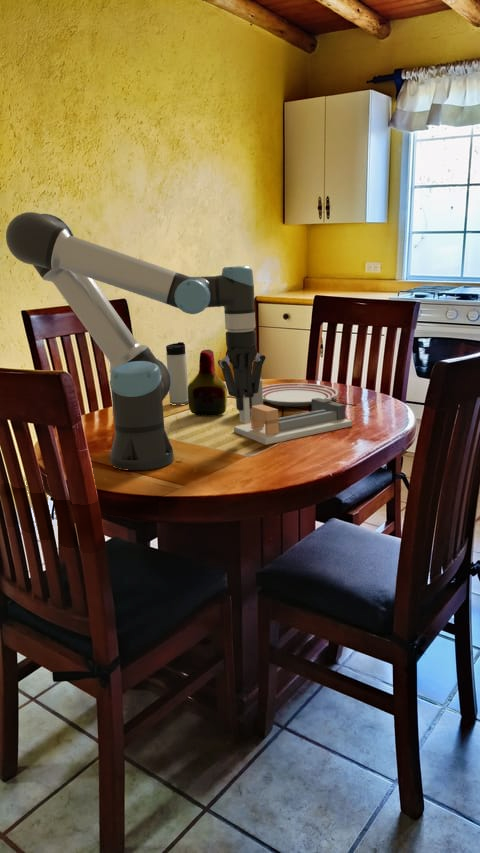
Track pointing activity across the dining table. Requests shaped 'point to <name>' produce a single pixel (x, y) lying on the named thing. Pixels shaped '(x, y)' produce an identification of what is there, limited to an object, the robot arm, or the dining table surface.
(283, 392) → the dinner plate
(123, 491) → the dining table surface
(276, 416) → the tan wooden block
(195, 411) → the bottle
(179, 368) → the travel mug
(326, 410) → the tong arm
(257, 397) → the can
